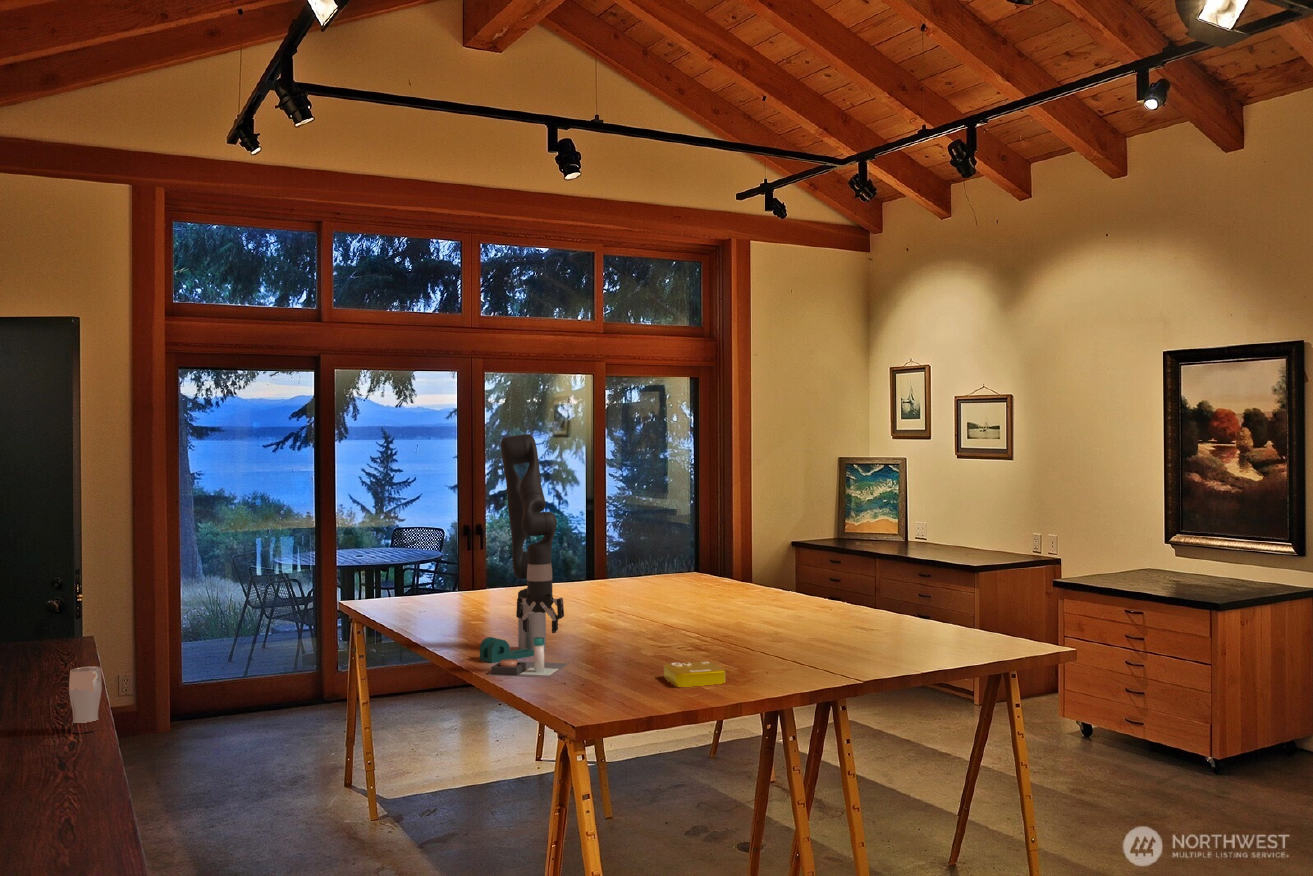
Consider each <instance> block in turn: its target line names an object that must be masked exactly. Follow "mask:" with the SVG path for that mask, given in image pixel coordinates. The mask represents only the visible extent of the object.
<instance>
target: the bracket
mask: <svg viewBox="0 0 1313 876" xmlns="http://www.w3.org/2000/svg"><path fill="white" fill-rule="evenodd" d="M530 657H534V650H531V649H520V650H518V649H514V650H510V645H509V642H507V640H505V639H501V638H496V637H492V636H489V637H485V638H484V639H482V641H481V642H480V645H479V661H482V662H485V663H489V664H497V663H499V662H500V661H501V660H504V659H516V660H520V659H523V658H530Z"/></svg>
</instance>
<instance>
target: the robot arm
mask: <svg viewBox="0 0 1313 876" xmlns="http://www.w3.org/2000/svg"><path fill="white" fill-rule="evenodd" d="M500 451H501V458H502V459H501V461H502V465H503V471H504V477H505V485H506V494H507V495H506V496H507V509H508V510H507V511H508V517H509V524H510V525H509V526H510V533H511V543H512V544H511V547H512V549H511V550H512V551H511V552H512V553H511V554H512V571H513V574H514V577H515V578H516V579H519V580H526V581H527V582H526V586H527V587H526V588H523V589H521V590H519V591H518V593H517V599H516V614H515V615H516V616H515V617H516V618H517V622H518V623H517V625H518V627H517V631H518V634H517V635H518V636H517V640H518V641H517V646H518V647H517V648H518V649H517V650H520V649H531V650H534V638H535V637H544V652H545V650H546V651H547V617H546V616H547V615H548V616H549V618H551V634H555V633H557V631H558V630H559V620H561V619H563V618H564V617H565V608H564V599H563V597H559V598H554V596H553V568H552V567H553V566H552V546H553V541H554V537H555V534H556V529H557V527H558V526H557V524H558V520H557V517H556V515H555V514H554V513H553V512H551V511H544V510H545V508H546V499H545V495H544V491H543V487H542V482H541V471H540V463H539V456H538V455H539V454H538V447H537V443H536V440H535V438H534V436H533V435H532V434H528V433H525V434H519V435H511V436H505V437H503V438H502V439H501V442H500ZM523 464H528V468H527V469H526V471H525V472H526V473H525V474H524V476H523V478H522V479H521V478H520V476H519V475H518V473H517V472H516V470H515V468H514V466H516V465H523ZM535 536H543V537H542V538H541V540H540V541H538V542H535V543H530V544H529V545H528V546H527V551H524V548H523V547H524V543H525V541H526V539H527V537H535ZM553 604H554V605H555V606H556V610H557V611H555V609H554V607H552V606H553ZM556 612H557V613H556ZM546 614H547V615H546Z"/></svg>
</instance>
